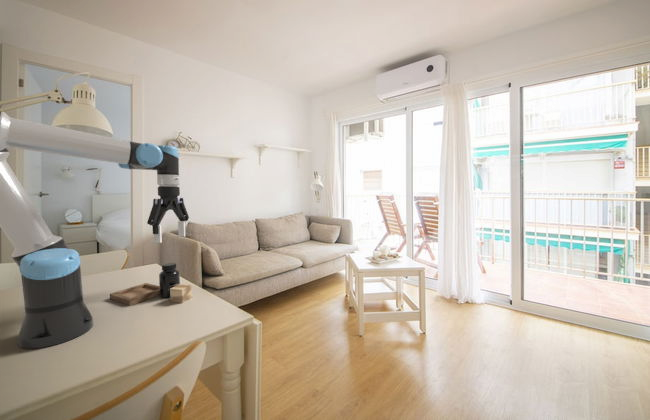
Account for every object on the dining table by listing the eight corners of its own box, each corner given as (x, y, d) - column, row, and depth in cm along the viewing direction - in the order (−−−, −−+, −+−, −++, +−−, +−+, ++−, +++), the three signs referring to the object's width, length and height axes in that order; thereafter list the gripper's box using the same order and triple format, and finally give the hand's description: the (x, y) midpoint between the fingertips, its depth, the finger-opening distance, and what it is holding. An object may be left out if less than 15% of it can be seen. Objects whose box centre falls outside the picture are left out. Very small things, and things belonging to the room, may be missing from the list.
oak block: (182, 303, 98) (182, 289, 97) (170, 302, 99) (170, 288, 98) (192, 297, 103) (191, 284, 102) (180, 296, 104) (180, 283, 103)
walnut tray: (130, 305, 96) (129, 300, 96) (110, 299, 102) (109, 294, 102) (166, 292, 107) (165, 287, 107) (146, 287, 113) (145, 282, 113)
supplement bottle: (174, 298, 102) (172, 266, 101) (156, 298, 102) (154, 266, 101) (184, 291, 109) (182, 261, 108) (167, 291, 109) (165, 261, 108)
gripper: (152, 185, 95) (155, 245, 97) (196, 186, 120) (198, 234, 121) (133, 185, 96) (136, 245, 98) (181, 186, 121) (182, 234, 122)
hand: (170, 239), depth 110 cm, fingers open, 13 cm apart
